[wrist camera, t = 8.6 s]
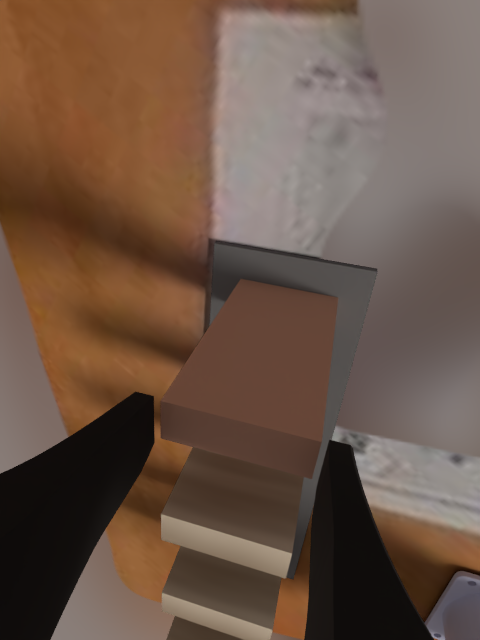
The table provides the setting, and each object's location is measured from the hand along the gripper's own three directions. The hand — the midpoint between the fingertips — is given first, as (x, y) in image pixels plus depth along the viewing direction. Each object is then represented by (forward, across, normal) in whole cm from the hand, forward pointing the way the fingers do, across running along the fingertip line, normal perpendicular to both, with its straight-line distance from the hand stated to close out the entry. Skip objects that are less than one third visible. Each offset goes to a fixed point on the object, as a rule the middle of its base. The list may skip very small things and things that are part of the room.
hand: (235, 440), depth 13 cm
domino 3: (+10, 0, +11) cm, 15 cm away
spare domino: (+10, 0, 0) cm, 10 cm away
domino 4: (+10, 0, +6) cm, 11 cm away
